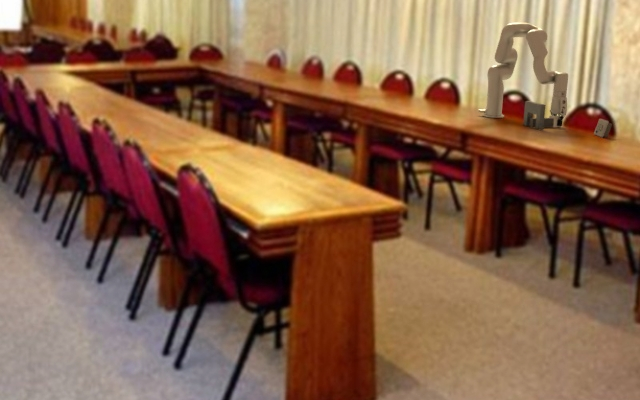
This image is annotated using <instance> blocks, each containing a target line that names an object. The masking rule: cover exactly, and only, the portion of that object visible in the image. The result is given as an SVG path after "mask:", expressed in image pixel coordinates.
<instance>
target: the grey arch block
mask: <svg viewBox="0 0 640 400" xmlns="http://www.w3.org/2000/svg"><path fill="white" fill-rule="evenodd" d="M523 113H524V114H523V123H522V126H526V127H530V118H533V115H536V117H535V118H536V126H535V128H536V129H535V128H534V129H535V130H539V129H541V130H544V128H545V127H544V118H545V115H546V104H543V103H540V102H535V101H531V100H526V101H524V112H523Z"/></svg>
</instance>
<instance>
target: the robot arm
mask: <svg viewBox="0 0 640 400" xmlns="http://www.w3.org/2000/svg"><path fill="white" fill-rule="evenodd" d="M514 38H525V39H526V42H527V45H528V46H529V50H530V52H531V55H532V57H533V62H532V65H533V66H532V67H533V72H534V76H535V78H536V80H537V81H538V83H540V84H541V85H552V84H553V90H552V91H553V92H552V98H551V103H550V109H549V112H550V116H558V120H557V126H561V127H563V121H564V118H565V117H566V116H567V112H568V99H567V95H568V94H567V91H568V82H569V74H568V73H567V72H561V71H560V72H559V71H557V70H547V69H546V65H545V58H546V57H547V56H548V53H549V52H548V50H547V47H546V44H545V43H546V42H547V40H548V33H547V32H546V31H545V30H544V29H543V28H540V27H539V26H535V25H534V24H532V23H529V22H511V23H507V24H506V25H504V26H503V28H502V29H501V32H500V37H499V41H498V43H497V47H496V50H495V53H494V60H495V62H496V63H498V64H494V65H491V66H490V67H489V68H488V70H487V93H486V95H487V97H486V108H483V109H480V108H479V109H478V113H480V114H481V113H483V114H482V115H483V117H485V118H492V119H495V118H497V119H498V118H499V119H500V118H501V119H502V118H504V117H505V114H503V113H502V111H503V100H504V92H505V91H504V89H505V88H504V87H505V86H504V82H503V81H506V80H509V79H510V78H511V77H512V76H513V74H514V71H515V67H516V64H517V61H518V51H517V50H516V49H515V48H514V47H513V46H514Z"/></svg>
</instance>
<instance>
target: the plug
mask: <svg viewBox="0 0 640 400" xmlns="http://www.w3.org/2000/svg"><path fill="white" fill-rule="evenodd" d="M557 120H558V115H557V116H552V115H549V116H548V117H544V127H543V128H561V127H562V126H557ZM535 126H536V117H532V118H530V126H529V127H530V128H532V127H535Z"/></svg>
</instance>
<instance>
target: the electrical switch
mask: <svg viewBox="0 0 640 400" xmlns="http://www.w3.org/2000/svg"><path fill="white" fill-rule="evenodd" d="M609 121H610V120H606V119H603V118H599V119H598V122H597V125H596V127H595V129H594V132H593V135H594V136H597V137H600V138H603V137H604V138H608V136H609V133H610V131H611V128H612V125H613V123H610V122H609Z"/></svg>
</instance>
